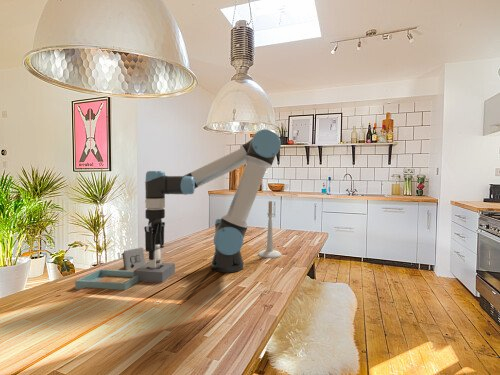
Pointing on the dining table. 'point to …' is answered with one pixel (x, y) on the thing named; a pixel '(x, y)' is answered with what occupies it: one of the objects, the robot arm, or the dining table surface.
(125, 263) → the electrical switch
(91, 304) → the dining table surface
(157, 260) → the cylinder
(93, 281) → the parts tray
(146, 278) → the fuse holder
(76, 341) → the dining table surface
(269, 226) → the candlestick
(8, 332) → the dining table surface
